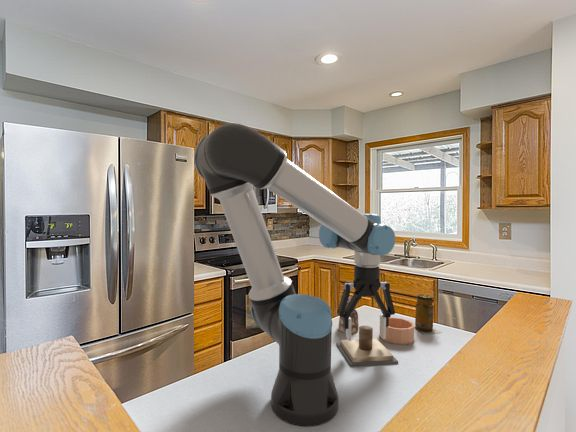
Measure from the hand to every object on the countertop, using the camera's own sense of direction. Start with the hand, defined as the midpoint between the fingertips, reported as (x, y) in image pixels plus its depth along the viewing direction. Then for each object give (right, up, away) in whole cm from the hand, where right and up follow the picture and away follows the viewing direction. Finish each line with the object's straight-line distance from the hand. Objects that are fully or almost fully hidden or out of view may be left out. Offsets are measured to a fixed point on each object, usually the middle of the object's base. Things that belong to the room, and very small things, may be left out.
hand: (365, 338), depth 98 cm
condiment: (+27, -5, +20) cm, 34 cm away
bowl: (+13, -4, +12) cm, 19 cm away
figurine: (-2, -4, +19) cm, 20 cm away
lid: (0, -4, 0) cm, 4 cm away
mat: (0, -5, 0) cm, 5 cm away
